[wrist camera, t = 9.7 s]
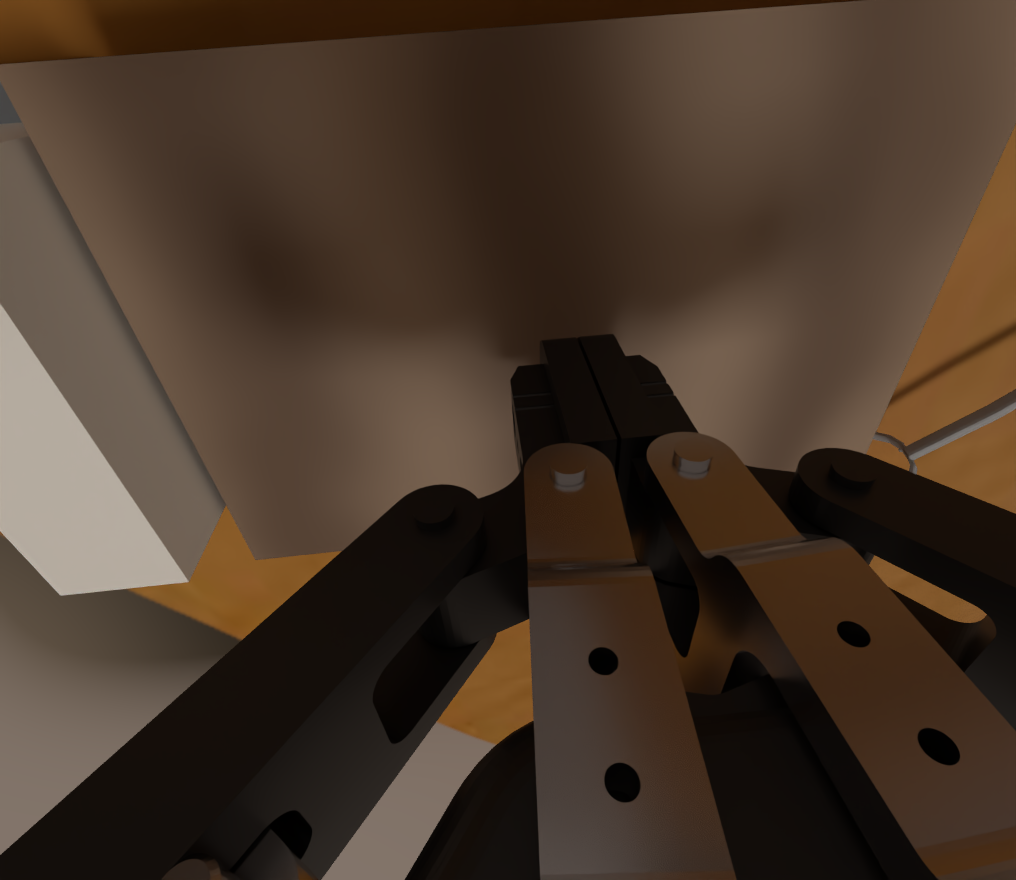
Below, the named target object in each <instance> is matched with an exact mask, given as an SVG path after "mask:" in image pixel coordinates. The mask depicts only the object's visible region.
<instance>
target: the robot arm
mask: <svg viewBox="0 0 1016 880" xmlns="http://www.w3.org/2000/svg"><path fill="white" fill-rule="evenodd" d="M510 384H511V399H512V415H513V430H514V442H515V448H516V455H517V462H518V468H519V474H518V476H517V477H516V478H515V479H514V480H513V481H512V482H511V483H510V484H509V485H508V486H506V487H505V488H503V489H501V490H499V491H497V492H495V493H492V494H490V495H487V496H484V497H481V498H479V499H478V498H477V497H476V495H474V494H473V493H472V492H470V491H469V490H467V489H465V488H462V487H459V486H455V485H447V484H439V485H431V486H426V487H423V488H419V489H417V490H415V491H412V492H411V493H409V494H407V495H406V496H404V497H403V498H402V499H400V500H399V501H398V502H397V503H396V504H395V505H393V506H392V507H391V508H390V509H389V510H388V511H387V512H386V513H384V514H383V515H382V516H381V517H380V518H379V519H378V520H377V521H376V522H374V523H373V524H372V525H371V526H370V527H369V528H368V529H367V530H365V531H364V532H363V533H362V534H361V535H360V536H359V537H358V538H356V539H355V540H354V541H353V542H352V543H351V544H350V545H349V546H347V547H346V548H345V549H344V550H343V551H342V552H341V553H340V554H338V555H337V556H336V557H335V558H334V559H333V560H332V561H331V562H329V563H328V564H327V565H326V566H325V567H324V568H323V569H322V570H320V571H319V572H318V573H317V574H316V575H315V576H314V577H313V578H311V579H310V580H309V581H308V582H307V583H306V584H305V585H304V586H302V587H301V588H300V589H299V590H298V591H297V592H296V593H295V594H293V595H292V596H291V597H290V598H289V599H288V600H287V601H286V602H284V603H283V604H282V605H281V606H280V607H279V608H278V609H277V610H275V611H274V612H273V613H272V614H271V615H270V616H269V617H268V618H266V619H265V620H264V621H263V622H262V623H261V624H260V625H259V626H257V627H256V628H255V629H254V630H253V631H252V632H251V633H250V634H248V635H247V636H246V637H245V638H244V639H243V640H242V641H241V642H239V643H238V644H237V645H236V646H235V647H234V648H233V649H232V650H230V651H229V652H228V653H227V654H226V655H225V656H224V657H223V658H222V659H220V660H219V661H218V662H217V663H216V664H215V665H214V666H212V667H211V668H210V669H209V670H208V671H207V672H206V673H205V674H203V675H202V676H201V677H200V678H199V679H198V680H197V681H196V682H194V683H193V684H192V685H191V686H190V687H189V688H188V689H187V690H185V691H184V692H183V693H182V694H181V695H180V696H179V697H178V698H176V699H175V700H174V701H173V702H172V703H171V704H170V705H169V706H167V707H166V708H165V709H164V710H163V711H162V712H161V713H160V714H158V716H156V717H155V718H154V719H153V720H152V721H151V722H150V723H149V724H147V725H146V726H145V727H144V728H143V729H142V730H141V731H140V732H138V733H137V734H136V735H135V736H134V737H133V738H132V739H130V740H129V741H128V742H127V743H126V744H125V745H124V746H122V747H121V748H120V749H119V750H118V751H117V752H116V753H115V754H113V755H112V756H111V757H110V758H109V759H108V760H107V761H106V762H104V764H102V765H101V766H100V767H99V768H98V769H97V770H95V771H94V772H93V773H92V774H91V775H90V776H89V777H88V778H86V779H85V780H84V781H83V782H82V783H81V784H80V785H79V786H78V787H76V788H75V789H74V790H73V791H72V792H71V793H70V794H69V795H67V796H66V797H65V798H64V799H63V800H62V801H61V802H59V803H58V805H56V806H55V807H54V808H53V809H52V810H50V812H48V813H47V814H46V815H45V816H44V817H43V818H42V819H41V820H39V821H38V822H37V823H36V824H35V825H34V826H33V827H31V828H30V829H29V830H28V831H27V832H26V833H25V834H24V835H22V836H21V837H20V838H19V839H18V840H17V841H16V842H15V843H13V844H12V845H11V846H10V847H9V848H8V849H7V850H6V851H4V852H3V853H2V854H1V855H0V880H321V879H322V877H323V876H324V875H325V874H326V872H327V871H328V870H329V868H330V867H331V865H332V864H333V863H334V861H335V860H336V859H337V857H338V856H339V854H340V853H341V852H342V850H343V849H344V848H345V846H346V845H347V843H348V842H349V840H350V839H351V838H352V837H353V835H354V834H355V833H356V831H357V830H358V828H359V827H360V826H361V824H362V823H363V821H364V820H365V819H366V817H367V816H368V815H369V813H370V812H371V810H372V809H373V808H374V806H375V805H376V804H377V802H378V801H379V800H380V798H381V797H382V795H383V794H384V793H385V791H386V790H387V789H388V787H389V786H390V784H391V783H392V782H393V780H394V779H395V778H396V776H397V775H398V773H399V772H400V771H401V769H402V768H403V767H404V765H405V764H406V762H407V761H408V760H409V758H410V757H411V755H412V754H413V753H414V752H415V750H416V749H417V747H418V746H419V745H420V743H421V742H422V740H423V739H424V738H425V736H426V735H427V733H428V732H429V731H430V730H431V728H432V727H433V725H434V724H435V723H436V721H437V720H438V719H439V717H440V716H441V714H442V713H443V712H444V710H445V709H446V708H447V706H448V705H449V703H450V702H451V701H452V699H453V698H454V697H455V695H456V694H457V692H458V691H459V690H460V688H461V687H462V686H463V684H464V683H465V682H466V680H467V679H468V677H469V676H470V675H471V673H472V672H473V671H474V669H475V668H476V666H477V665H478V664H479V662H480V661H481V660H482V658H483V657H484V655H485V654H486V653H487V651H488V650H489V649H490V647H491V645H492V644H493V642H494V640H495V637H496V634H497V633H498V632H500V631H502V630H505V629H507V628H509V627H511V626H514V625H516V624H518V623H521V622H523V621H525V620H527V619H529V620H530V644H531V668H532V692H533V716H534V721H532V722H530V723H528V724H526V725H524V726H523V727H521V728H519V729H518V730H516V731H514V732H513V733H511V734H510V735H509V736H507V737H506V738H505V739H503V740H502V741H501V742H499V743H498V744H497V745H496V746H495V747H493V749H491V750H490V751H489V753H487V754H486V755H485V756H484V757H483V759H482V760H481V761H480V762H478V764H477V765H476V766H475V767H474V769H473V770H472V771H471V773H470V774H469V775H468V776H467V778H466V779H465V780H464V782H463V783H462V785H461V786H460V788H459V789H458V791H457V793H456V794H455V796H454V797H453V799H452V801H451V802H450V804H449V806H448V807H447V809H446V811H445V812H444V814H443V816H442V818H441V819H440V821H439V823H438V824H437V826H436V828H435V829H434V831H433V833H432V834H431V836H430V838H429V840H428V841H427V843H426V845H425V846H424V848H423V850H422V852H421V853H420V855H419V856H418V858H417V860H416V862H415V863H414V865H413V867H412V868H411V870H410V872H409V873H408V875H407V877H406V878H405V880H1016V514H1015V513H1012V512H1010V511H1007V510H1005V509H1002V508H1000V507H997V506H995V505H992V504H990V503H987V502H985V501H982V500H980V499H977V498H975V497H972V496H970V495H967V494H965V493H962V492H960V491H957V490H955V489H952V488H950V487H947V486H944V485H942V484H939V483H937V482H934V481H932V480H929V479H927V478H924V477H922V476H919V475H917V474H914V473H912V472H909V471H907V470H904V469H902V468H899V467H897V466H894V465H892V464H889V463H887V462H884V461H882V460H879V459H877V458H874V457H872V456H869V455H866V454H863V453H861V452H857V451H853V450H848V449H842V448H822V449H816V450H813V451H810V452H808V453H806V454H805V455H804V456H802V458H801V459H800V460H799V463H798V466H797V469H796V471H795V472H791V471H782V470H774V469H766V468H758V467H752V466H747V465H744V463H743V462H742V461H741V460H740V458H739V457H738V456H737V455H736V453H735V452H734V451H733V450H732V449H731V448H730V447H729V446H727V445H726V444H725V443H723V442H721V441H720V440H718V439H715V438H713V437H711V436H708V435H704V434H700V433H698V431H697V429H696V428H695V426H694V425H693V423H692V421H691V420H690V418H689V416H688V415H687V413H686V412H685V410H684V408H683V407H682V405H681V403H680V402H679V400H678V399H677V397H676V396H674V392H673V390H672V389H671V387H670V386H669V384H667V383H666V379H665V377H664V376H663V374H662V373H661V371H660V369H659V368H658V366H656V365H655V364H653V363H652V362H650V361H649V360H647V359H646V358H644V357H643V356H641V355H632V356H625V354H624V352H623V350H622V348H621V347H620V345H619V343H618V341H617V339H616V337H615V336H614V334H604V335H593V336H582V337H577V338H576V337H572V338H561V339H550V340H541V341H540V364H535V365H524V366H518V367H517V369H516V371H515V373H514V374H513V376H512V378H511V380H510ZM874 555H875V556H877V557H879V558H881V559H883V560H885V561H887V562H889V563H891V564H893V565H895V566H897V567H899V568H901V569H903V570H905V571H907V572H909V573H911V574H913V575H915V576H917V577H919V578H921V579H923V580H925V581H927V582H929V583H931V584H933V585H935V586H937V587H939V588H941V589H943V590H945V591H947V592H949V593H951V594H953V595H955V596H957V597H959V598H961V599H963V600H965V601H967V602H969V603H971V604H973V605H975V606H977V607H978V608H980V609H981V610H983V611H984V612H985V613H986V614H987V615H986V617H985V618H984V619H982V620H981V621H979V622H975V623H962V622H957V621H954V620H951V619H948V618H946V617H944V616H942V615H940V614H938V613H937V612H935V611H933V610H931V609H929V608H927V607H925V606H923V605H921V604H919V603H918V602H916V601H914V600H912V599H910V598H908V597H906V596H904V595H902V594H900V593H899V592H897V591H895V590H893V589H891V588H889V587H888V586H887V585H886V584H885V583H884V582H883V581H882V580H881V578H880V577H879V576H878V575H877V574H876V573H875V572H874V571H873V569H872V568H871V567H870V566H869V564H870V562H871V560H872V559H873V557H874Z"/></svg>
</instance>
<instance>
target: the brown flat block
mask: <svg viewBox="0 0 1016 880" xmlns="http://www.w3.org/2000/svg"><path fill="white" fill-rule="evenodd" d="M0 82H1V84H2V86H3V88H4V89H5V91H6V93H7V95H8V97H9V99H10V101H11V103H12V104H13V106H14V108H15V110H16V112H17V114H18V116H19V118H20V119H21V121H22V123H23V125H24V127H25V129H26V131H27V133H28V134H29V136H30V138H31V140H32V142H33V144H34V146H35V148H36V149H37V151H38V153H39V155H40V157H41V159H42V161H43V163H44V164H45V166H46V168H47V170H48V172H49V174H50V176H51V178H52V179H53V181H54V183H55V185H56V187H57V189H58V191H59V193H60V194H61V196H62V198H63V200H64V202H65V204H66V206H67V207H68V209H69V211H70V213H71V215H72V217H73V219H74V221H75V222H76V224H77V226H78V228H79V230H80V232H81V234H82V236H83V237H84V239H85V241H86V243H87V245H88V247H89V249H90V251H91V252H92V254H93V256H94V258H95V260H96V262H97V264H98V266H99V267H100V269H101V271H102V273H103V275H104V277H105V279H106V281H107V282H108V284H109V286H110V288H111V290H112V292H113V294H114V296H115V297H116V299H117V301H118V303H119V305H120V307H121V309H122V311H123V312H124V314H125V316H126V318H127V320H128V322H129V324H130V326H131V327H132V329H133V331H134V333H135V335H136V337H137V339H138V341H139V342H140V344H141V346H142V348H143V350H144V352H145V354H146V356H147V357H148V359H149V361H150V363H151V365H152V367H153V369H154V371H155V372H156V374H157V376H158V378H159V380H160V382H161V384H162V386H163V387H164V389H165V391H166V393H167V395H168V397H169V399H170V401H171V402H172V404H173V406H174V408H175V410H176V412H177V414H178V416H179V417H180V419H181V421H182V423H183V425H184V427H185V429H186V430H187V432H188V434H189V436H190V438H191V440H192V442H193V444H194V445H195V447H196V449H197V451H198V453H199V455H200V457H201V459H202V460H203V462H204V464H205V466H206V468H207V470H208V472H209V474H210V475H211V477H212V479H213V481H214V483H215V485H216V487H217V489H218V490H219V492H220V494H221V496H222V498H223V500H224V502H225V504H226V505H227V507H228V509H229V511H230V513H231V515H232V517H233V519H234V520H235V522H236V524H237V526H238V528H239V530H240V532H241V534H242V535H243V537H244V539H245V541H246V543H247V545H248V547H249V549H250V550H251V552H252V554H253V556H254V558H255V560H260V559H269V558H279V557H288V556H297V555H307V554H316V553H326V552H335V551H343V550H344V549H345V548H346V547H347V546H349V545H350V544H351V543H352V542H353V541H354V540H355V539H356V538H358V537H359V536H360V535H361V534H362V533H363V532H364V531H365V530H367V529H368V528H369V527H370V526H371V525H372V524H373V523H374V522H376V521H377V520H378V519H379V518H380V517H381V516H382V515H383V514H384V513H386V512H387V511H388V510H389V509H390V508H391V507H392V506H393V505H395V504H396V503H397V502H398V501H399V500H400V499H402V498H403V497H404V496H406V495H407V494H409V493H411V492H412V491H415V490H417V489H419V488H423V487H426V486H431V485H439V484H447V485H455V486H459V487H462V488H465V489H467V490H469V491H470V492H472V493H473V494H474V495H476V497H477V498H478V499H479V498H481V497H484V496H487V495H490V494H492V493H495V492H497V491H499V490H501V489H503V488H505V487H506V486H508V485H509V484H510V483H511V482H512V481H513V480H514V479H515V478H516V477H517V476H518V474H519V468H518V462H517V455H516V448H515V442H514V430H513V415H512V399H511V384H510V380H511V378H512V376H513V374H514V373H515V371H516V369H517V367H518V366H524V365H535V364H540V341H541V340H550V339H561V338H572V337H576V338H577V337H582V336H593V335H604V334H614V336H615V337H616V339H617V341H618V343H619V345H620V347H621V348H622V350H623V352H624V354H625V356H632V355H641V356H643V357H644V358H646V359H647V360H649V361H650V362H652V363H653V364H655V365H656V366H658V368H659V369H660V371H661V373H662V374H663V376H664V377H665V379H666V383H667V384H669V386H670V387H671V389H672V390H673V392H674V396H676V397H677V399H678V400H679V402H680V403H681V405H682V407H683V408H684V410H685V412H686V413H687V415H688V416H689V418H690V420H691V421H692V423H693V425H694V426H695V428H696V429H697V431H698V433H700V434H704V435H708V436H711V437H713V438H715V439H718V440H720V441H721V442H723V443H725V444H726V445H727V446H729V447H730V448H731V449H732V450H733V451H734V452H735V453H736V455H737V456H738V457H739V458H740V460H741V461H742V462H743V463H744V465H747V466H752V467H758V468H766V469H774V470H782V471H791V472H795V471H796V469H797V466H798V463H799V460H800V459H801V458H802V456H804V455H805V454H806V453H808V452H810V451H813V450H816V449H822V448H842V449H848V450H853V451H857V452H861V453H863V454H866V453H867V450H868V448H869V446H870V444H871V442H872V439H873V437H874V435H875V433H876V431H877V428H878V426H879V424H880V422H881V419H882V417H883V415H884V413H885V411H886V408H887V406H888V404H889V402H890V400H891V397H892V395H893V393H894V391H895V389H896V386H897V384H898V382H899V380H900V378H901V375H902V373H903V371H904V369H905V367H906V364H907V362H908V360H909V358H910V356H911V353H912V351H913V349H914V347H915V345H916V342H917V340H918V338H919V336H920V334H921V331H922V329H923V327H924V325H925V323H926V320H927V318H928V316H929V314H930V311H931V309H932V307H933V305H934V303H935V300H936V298H937V296H938V294H939V292H940V289H941V287H942V285H943V283H944V281H945V278H946V276H947V274H948V272H949V270H950V267H951V265H952V263H953V261H954V259H955V256H956V254H957V252H958V250H959V248H960V245H961V243H962V241H963V239H964V237H965V234H966V232H967V230H968V228H969V226H970V223H971V221H972V219H973V217H974V215H975V212H976V210H977V208H978V206H979V204H980V201H981V199H982V197H983V195H984V192H985V190H986V188H987V186H988V184H989V181H990V179H991V177H992V175H993V173H994V170H995V168H996V166H997V164H998V162H999V159H1000V157H1001V155H1002V153H1003V151H1004V148H1005V146H1006V144H1007V142H1008V140H1009V137H1010V135H1011V133H1012V131H1013V129H1014V126H1015V124H1016V0H862V1H849V2H835V3H822V4H808V5H795V6H781V7H768V8H754V9H741V10H727V11H714V12H700V13H687V14H673V15H660V16H646V17H633V18H619V19H606V20H592V21H579V22H565V23H552V24H538V25H525V26H511V27H498V28H484V29H471V30H457V31H444V32H430V33H417V34H403V35H390V36H376V37H363V38H349V39H336V40H322V41H309V42H295V43H282V44H268V45H255V46H241V47H228V48H214V49H201V50H187V51H174V52H160V53H147V54H133V55H120V56H106V57H93V58H79V59H66V60H52V61H39V62H25V63H12V64H0Z"/></svg>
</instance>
